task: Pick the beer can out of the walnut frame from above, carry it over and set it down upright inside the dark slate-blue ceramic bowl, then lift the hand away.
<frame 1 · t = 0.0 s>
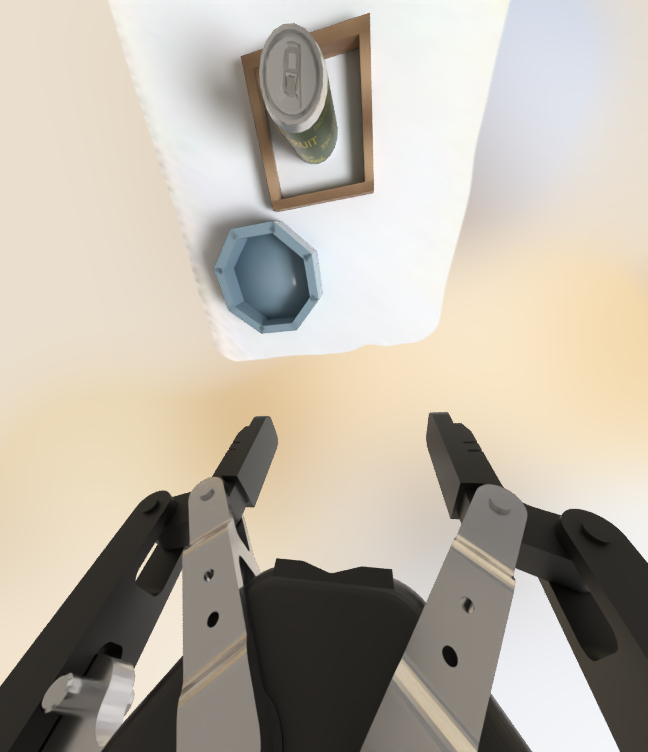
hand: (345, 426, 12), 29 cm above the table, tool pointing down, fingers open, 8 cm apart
slate bowl: (276, 279, 36), on the table
walnut frame: (315, 135, 27), on the table
beer can: (316, 136, 27), resting in walnut frame
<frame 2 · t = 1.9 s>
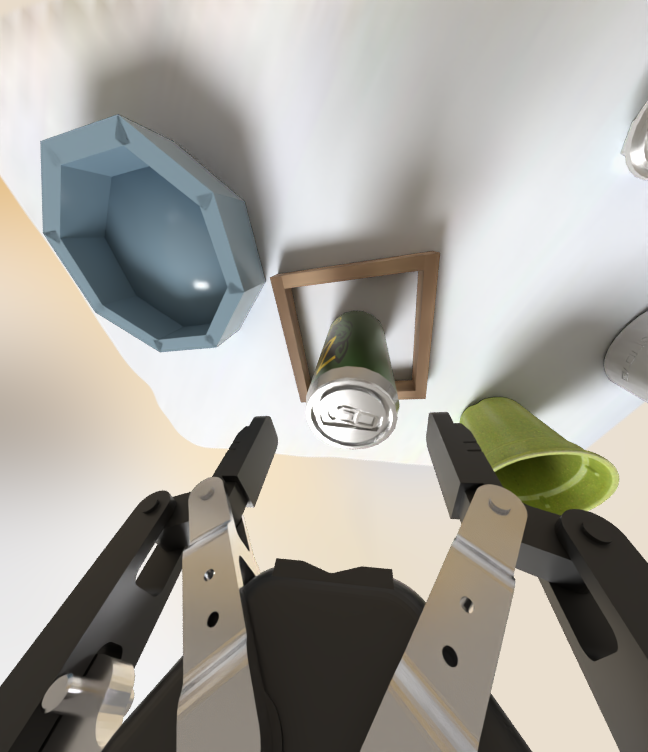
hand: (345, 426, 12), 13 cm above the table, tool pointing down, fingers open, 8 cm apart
screw: (647, 134, 13), on the table
slate bowl: (183, 257, 21), on the table
walnut frame: (355, 335, 22), on the table
plant pot: (489, 416, 25), on the table
beer can: (355, 334, 23), resting in walnut frame
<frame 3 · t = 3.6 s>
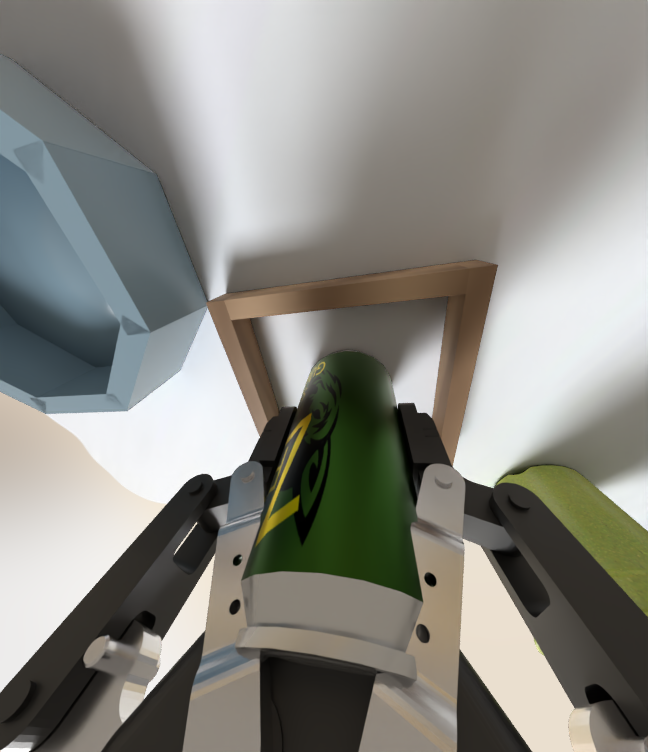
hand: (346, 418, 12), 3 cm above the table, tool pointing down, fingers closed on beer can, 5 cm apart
slate bowl: (78, 267, 13), on the table
walnut frame: (348, 382, 15), on the table
plant pot: (533, 485, 18), on the table
beer can: (348, 380, 15), resting in walnut frame, touching gripper
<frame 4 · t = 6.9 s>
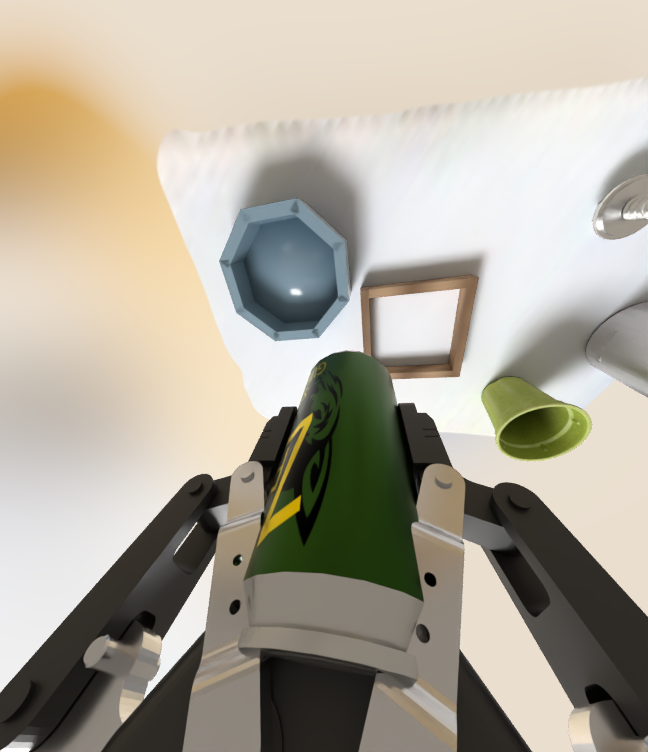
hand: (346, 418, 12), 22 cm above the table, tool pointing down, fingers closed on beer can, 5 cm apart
screw: (607, 210, 23), on the table
slate bowl: (294, 275, 30), on the table
walnut frame: (410, 331, 32), on the table
plant pot: (503, 392, 35), on the table
beer can: (349, 380, 15), point 19 cm above the table, touching gripper
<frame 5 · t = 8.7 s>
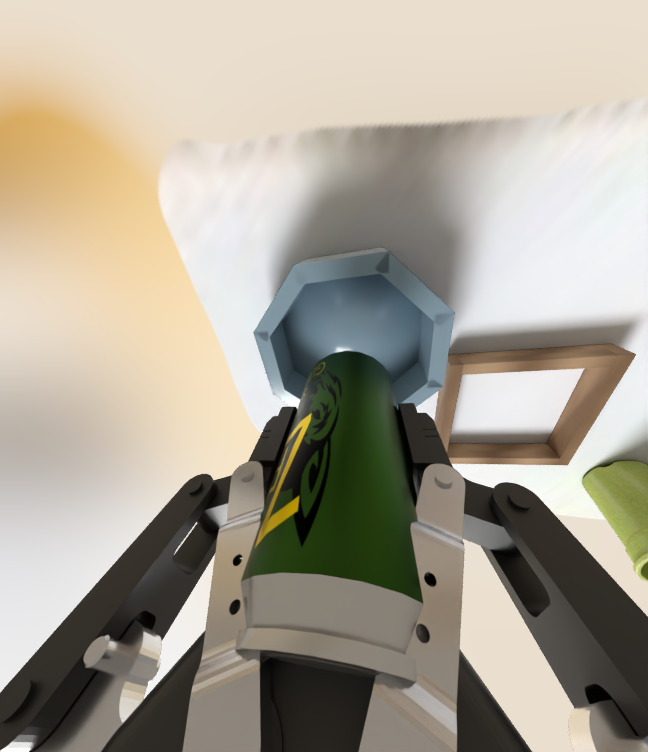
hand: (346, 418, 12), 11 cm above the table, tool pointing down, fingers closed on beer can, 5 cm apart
slate bowl: (351, 338, 22), on the table
walnut frame: (503, 406, 23), on the table
plant pot: (612, 474, 27), on the table
beer can: (349, 380, 15), point 8 cm above the table, touching gripper
when the fingers open (6 cm above the table, at t = 10.4 s): beer can drops 1 cm, resting on slate bowl.
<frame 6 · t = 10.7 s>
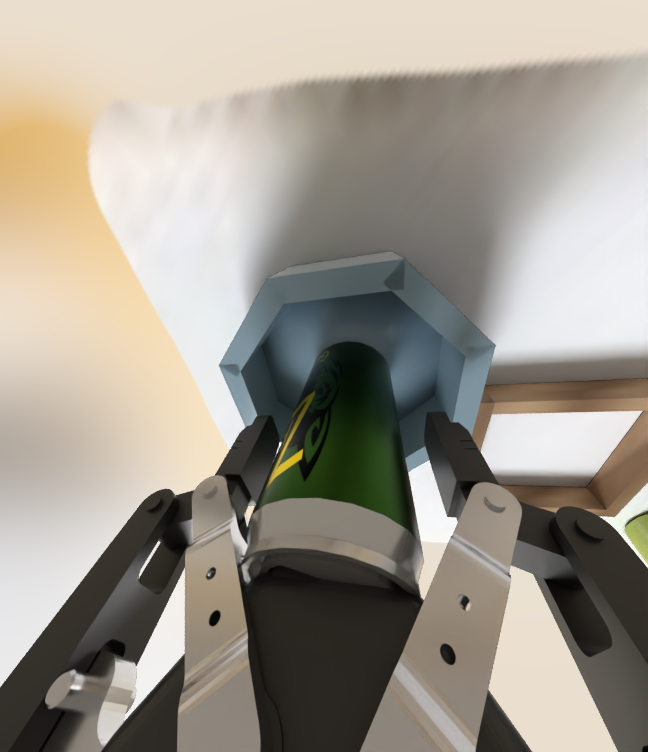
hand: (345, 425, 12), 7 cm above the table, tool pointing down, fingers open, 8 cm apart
slate bowl: (349, 364, 17), on the table
walnut frame: (537, 446, 19), on the table
beer can: (350, 370, 16), point 1 cm above the table, touching slate bowl
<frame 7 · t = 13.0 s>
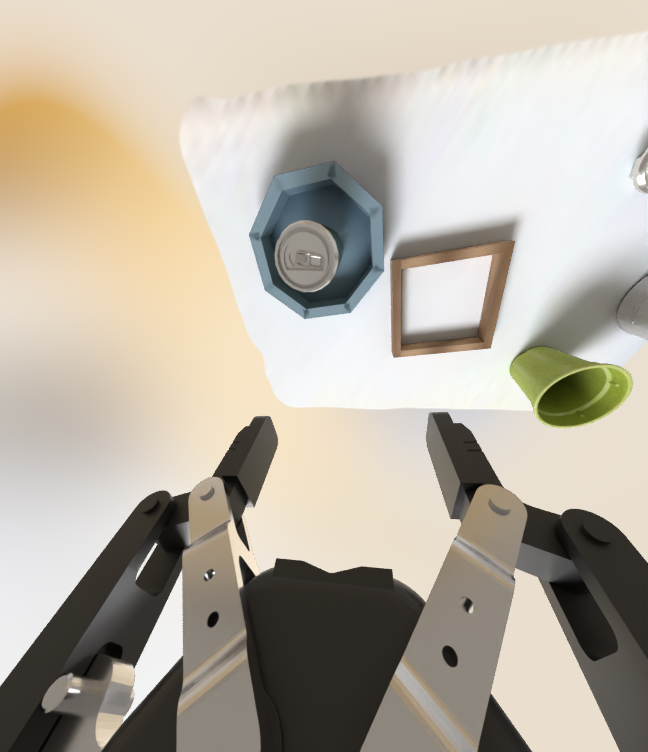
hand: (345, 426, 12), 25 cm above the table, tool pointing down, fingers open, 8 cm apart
screw: (644, 165, 22), on the table
slate bowl: (321, 250, 29), on the table
walnut frame: (440, 304, 31), on the table
plant pot: (531, 363, 34), on the table
beer can: (321, 250, 29), point 1 cm above the table, touching slate bowl
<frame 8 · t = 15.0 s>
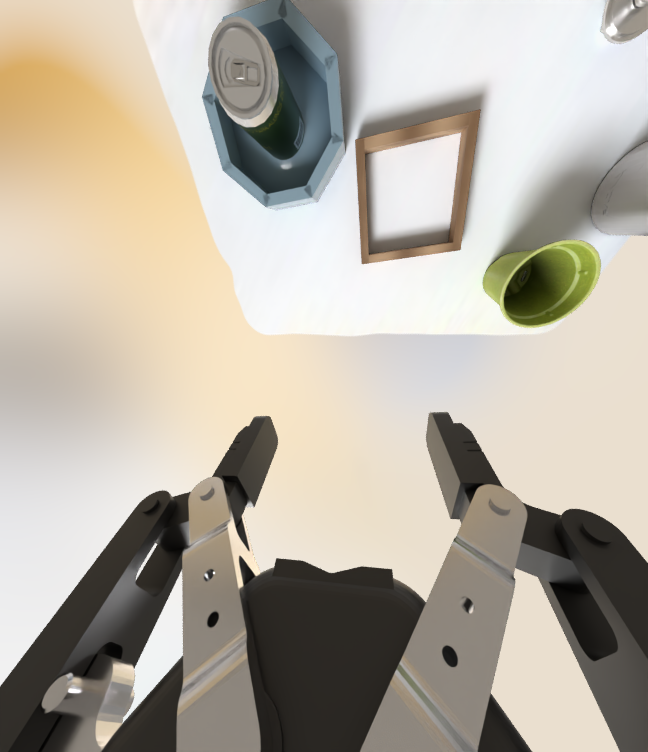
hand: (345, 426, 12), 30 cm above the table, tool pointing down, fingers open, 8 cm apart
screw: (616, 17, 21), on the table
slate bowl: (284, 134, 28), on the table
walnut frame: (408, 201, 30), on the table
plant pot: (505, 275, 33), on the table
beer can: (283, 132, 27), point 1 cm above the table, touching slate bowl
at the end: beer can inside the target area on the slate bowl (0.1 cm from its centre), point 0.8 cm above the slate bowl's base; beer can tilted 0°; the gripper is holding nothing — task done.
